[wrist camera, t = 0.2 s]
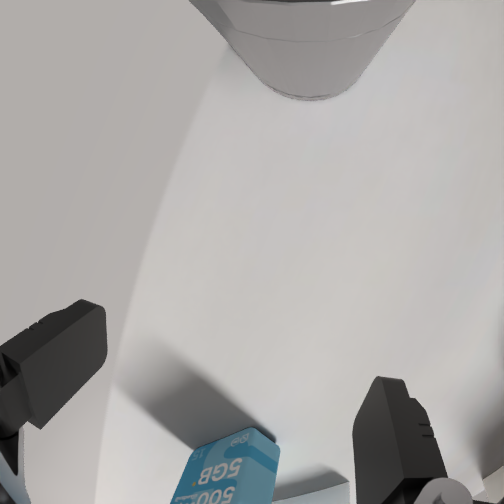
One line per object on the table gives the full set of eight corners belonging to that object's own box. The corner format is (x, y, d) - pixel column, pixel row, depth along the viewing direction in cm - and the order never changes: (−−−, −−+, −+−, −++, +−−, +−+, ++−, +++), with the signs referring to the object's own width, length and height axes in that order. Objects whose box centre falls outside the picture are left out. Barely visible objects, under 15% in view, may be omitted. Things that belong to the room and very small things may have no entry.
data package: (257, 422, 33) (235, 510, 22) (282, 442, 33) (268, 526, 22) (191, 449, 37) (162, 519, 26) (215, 465, 37) (192, 534, 26)
